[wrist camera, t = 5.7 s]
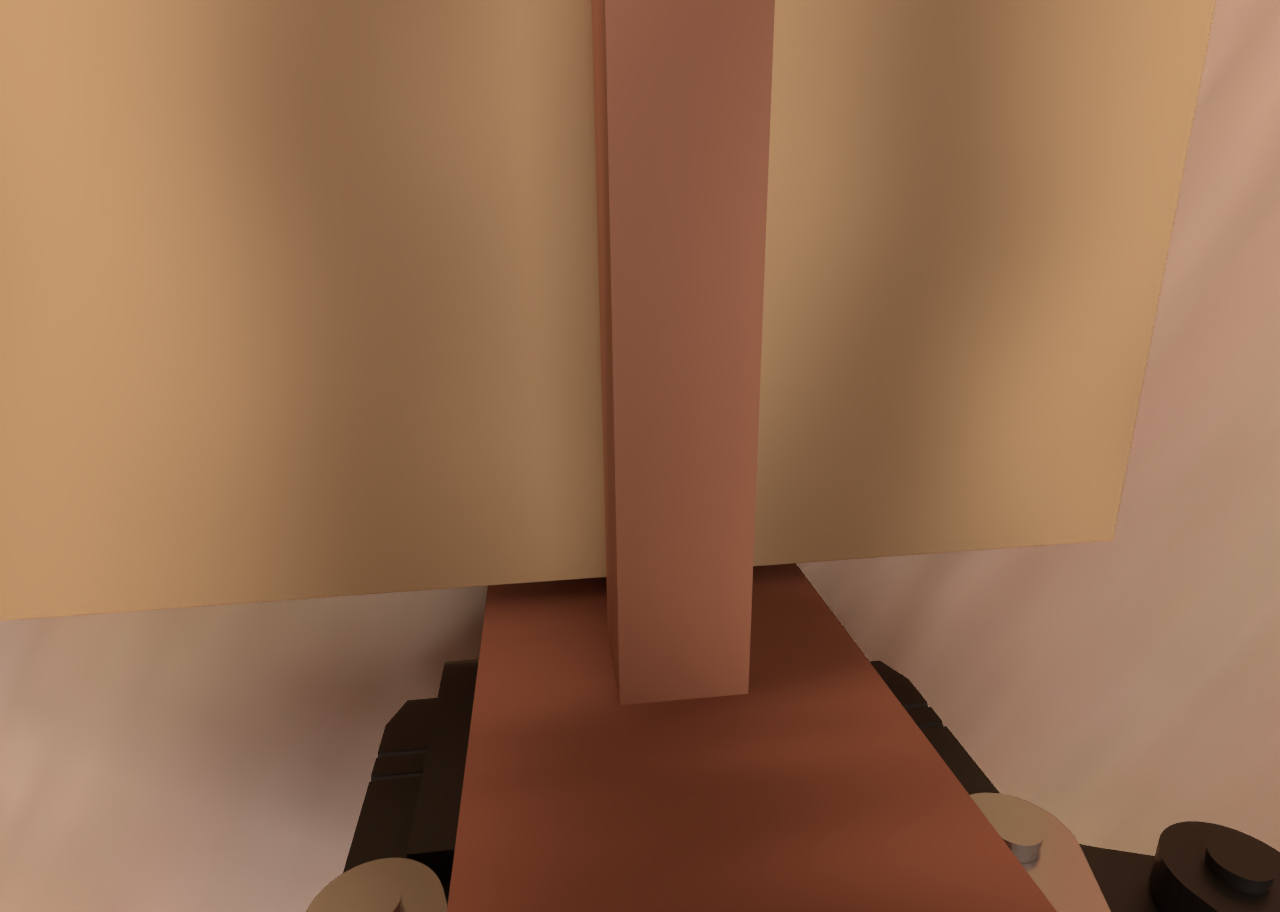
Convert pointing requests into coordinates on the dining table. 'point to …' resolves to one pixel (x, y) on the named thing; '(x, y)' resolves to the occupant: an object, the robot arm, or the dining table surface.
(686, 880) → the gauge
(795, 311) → the board
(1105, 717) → the dining table surface
